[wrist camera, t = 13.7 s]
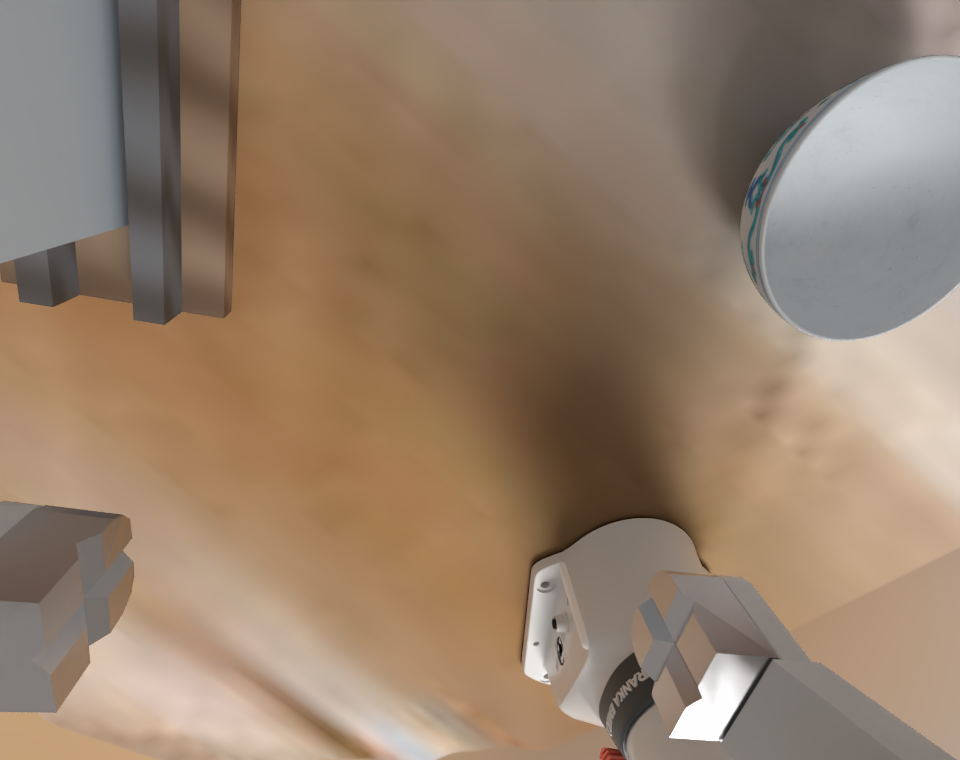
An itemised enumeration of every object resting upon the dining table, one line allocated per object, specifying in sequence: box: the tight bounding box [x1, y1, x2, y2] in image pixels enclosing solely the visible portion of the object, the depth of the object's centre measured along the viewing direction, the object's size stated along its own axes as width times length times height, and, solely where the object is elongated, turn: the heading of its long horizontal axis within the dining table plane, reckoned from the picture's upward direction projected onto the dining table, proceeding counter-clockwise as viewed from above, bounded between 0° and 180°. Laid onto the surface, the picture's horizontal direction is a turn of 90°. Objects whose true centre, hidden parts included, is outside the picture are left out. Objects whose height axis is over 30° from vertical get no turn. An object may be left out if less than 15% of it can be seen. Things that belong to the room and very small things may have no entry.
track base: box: [0, 0, 241, 325], centre depth 25 cm, size 26×12×4 cm, turn 167°
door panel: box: [0, 0, 129, 263], centre depth 20 cm, size 16×3×12 cm, turn 167°
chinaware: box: [740, 55, 960, 341], centre depth 31 cm, size 15×15×8 cm
